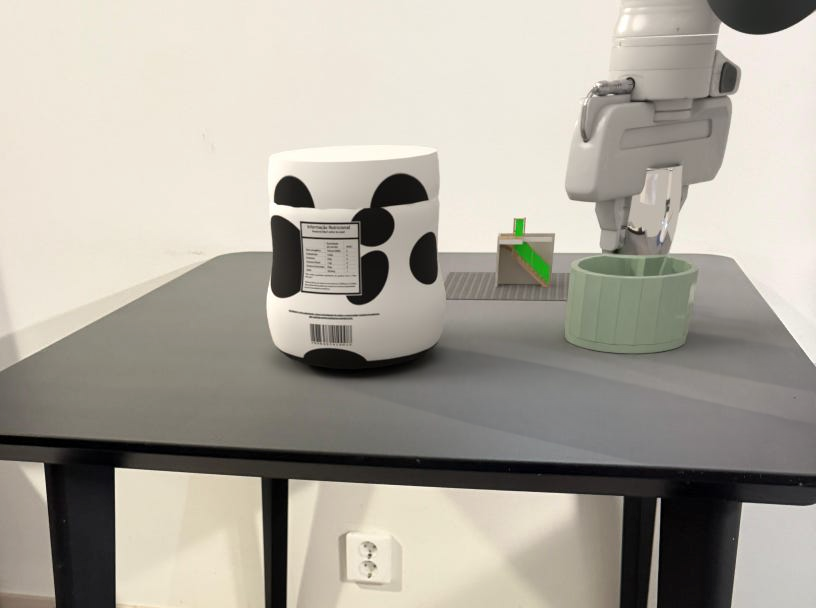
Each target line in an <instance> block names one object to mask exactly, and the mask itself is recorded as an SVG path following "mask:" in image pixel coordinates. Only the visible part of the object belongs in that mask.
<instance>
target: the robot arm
mask: <svg viewBox="0 0 816 608" xmlns="http://www.w3.org/2000/svg"><path fill="white" fill-rule="evenodd" d="M814 13H816V0H620V9H619V12H618V17H617V21H616V23H615V26H614V30H613V32H612V40H611V50H610V59H609V66H608V67H609V68H608V76H607V80H600V81H597V82H595V83H594V85H593V87H592V89H590V90H589V92H588V93H587V95H586V97H584V98H583V100H582V103H581V108H580V112H579V114H578V116H577V117H576V120H575V123H574V127H573V132H572V136H571V140H570V141H571V142H570V145H569V146H570V147H569V152H568V157H567V164H566V172H565V179H564V189H565V192H566V195H567V197H568V199H569V200H570V201H575V202H582V203H583V202H584V203H595V205H594V212H595V216H596V219H597V222H598V226H599V228H600V237H599V247H600V249H601V250H602V249H603V250H610V251H612V250H616V249H620V248H622V247H623V246H624V243H625V240H624V238H625V236H626V229H624V228H621V223H620V216H619V211H621V210H623V205H624V197H629V196H634V195H639V194H641V193H642V191H643V188H644V186H645V181H646V175H647V169H648V168H665V167H674V166H678V164H679V163H682V164H684V166H683V174H682V189H681V200H680V209H679V213H680V212H681V210H682V209H683V206H684V204H685V202H686V201H687V198H688V194H689V186H691V185H696V184H701V183H705V182H711V181H713V180H714V179H715V178H716V176H718V173H719V171H720V169H721V168H722V165H723V161H724V158H725V154H726V149H727V144H728V139H729V134H730V130H731V129H730V128H731V123H732V115H733V103H732V99H731V97H729V96H733V95H736V93H737V92H738V91H739V88H740V84H741V80H742V79H741V78H742V69H741V67H740V66H739V65H738V64H737V63H734V61H732V60H731V59H729V58H728V57H726V56H725V54H723V52H722V51H721V50H720V49H717V45H718V38H719V32H720V27H721V24H722V23H723V24H724V25H725V26H727V27H728V28H730V29H732V30H733V31H736V32H738V33H741V34H745V35H752V36H753V35H754V36H764V35H771V34H775V33H779V32H782V31H784V30H787V29H789V28H791V27H794V26H795V25H797V24H799V23H800V22H802V21H803V20H805V19H806V18H808V17H810V16H811V15H813V14H814ZM594 95H595V96H594Z"/></svg>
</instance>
